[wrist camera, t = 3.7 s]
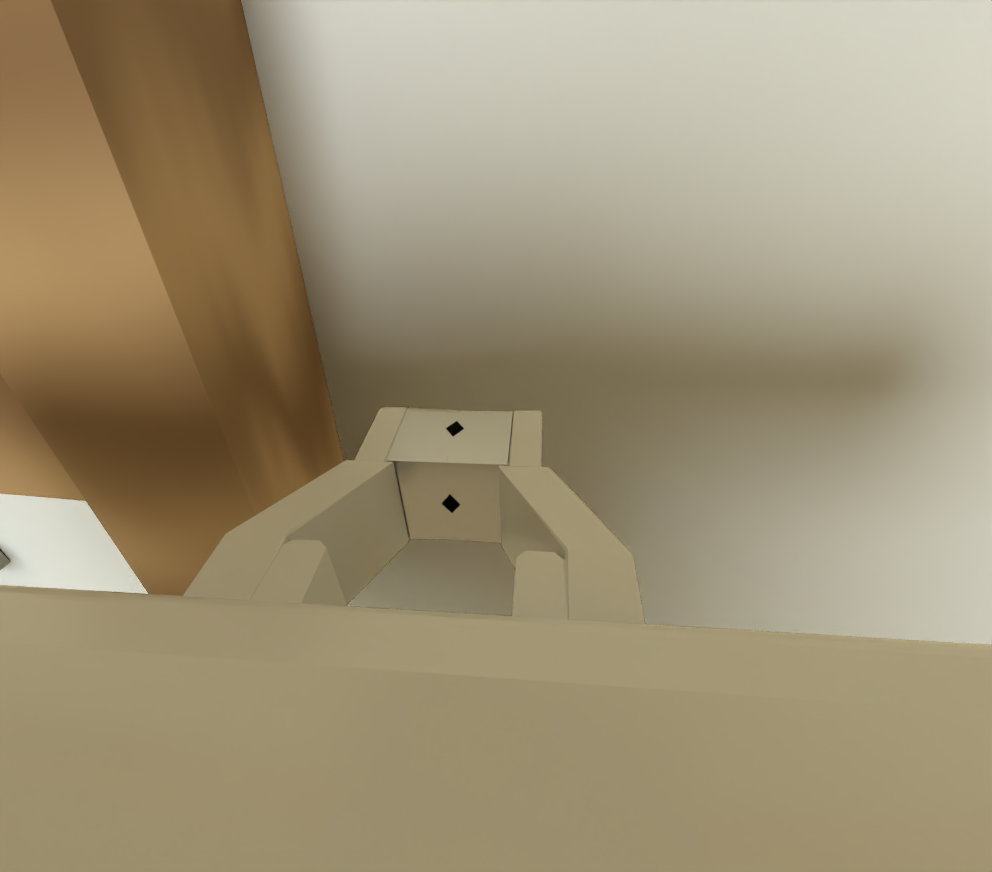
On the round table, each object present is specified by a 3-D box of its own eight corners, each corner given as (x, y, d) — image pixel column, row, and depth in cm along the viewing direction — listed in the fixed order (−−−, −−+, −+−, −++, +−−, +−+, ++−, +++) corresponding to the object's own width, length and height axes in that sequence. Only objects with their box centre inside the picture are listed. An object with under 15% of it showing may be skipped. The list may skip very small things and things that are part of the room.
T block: (362, 542, 18) (313, 660, 14) (10, 511, 19) (-118, 613, 15) (221, -86, 8) (-34, -211, 5) (-471, -80, 9) (-1114, -178, 6)
